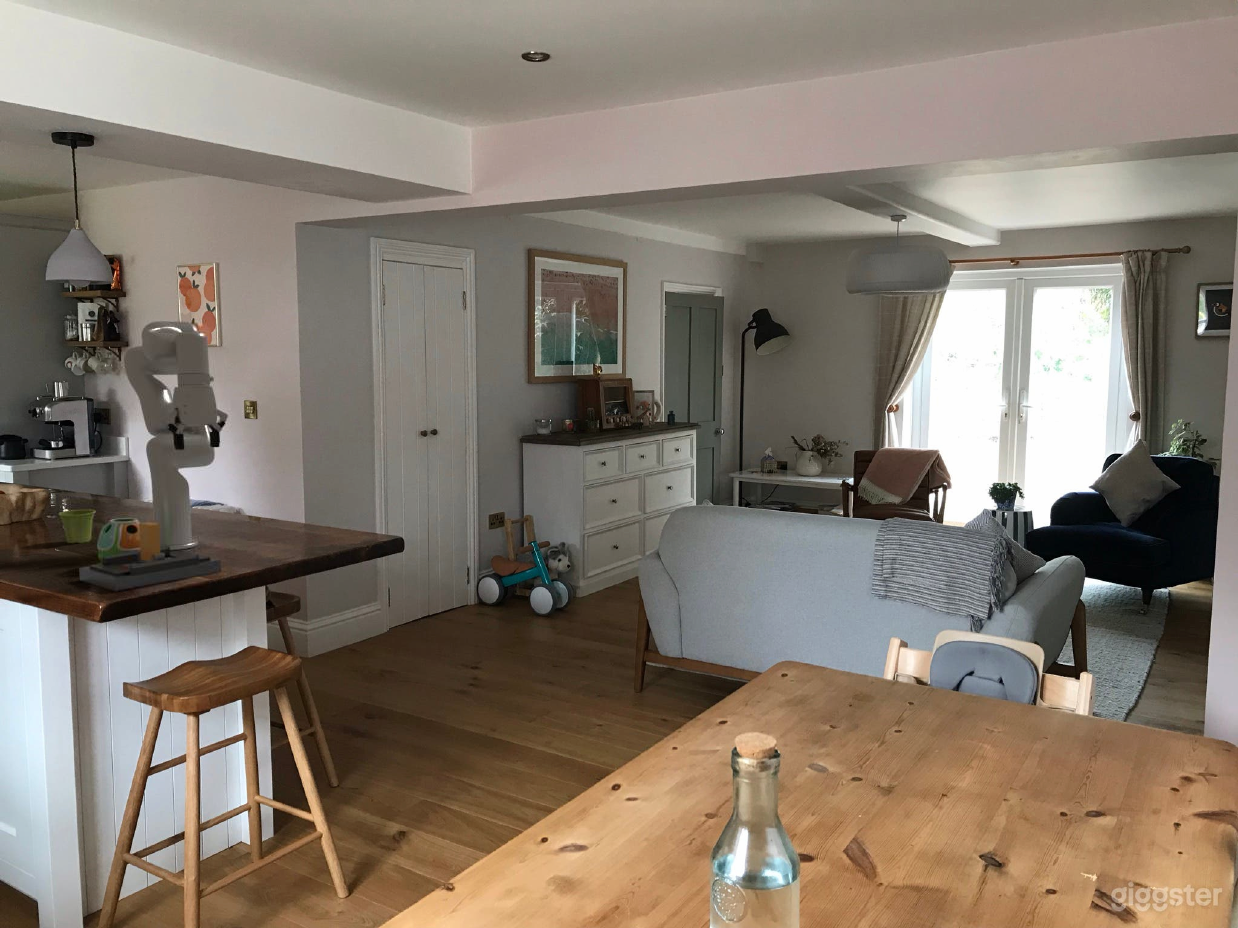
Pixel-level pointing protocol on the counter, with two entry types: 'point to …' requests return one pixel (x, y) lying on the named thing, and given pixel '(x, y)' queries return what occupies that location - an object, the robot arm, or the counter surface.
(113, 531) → the turtle holder
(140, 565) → the stepped grey platform
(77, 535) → the plant pot
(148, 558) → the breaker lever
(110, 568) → the grey base plate
